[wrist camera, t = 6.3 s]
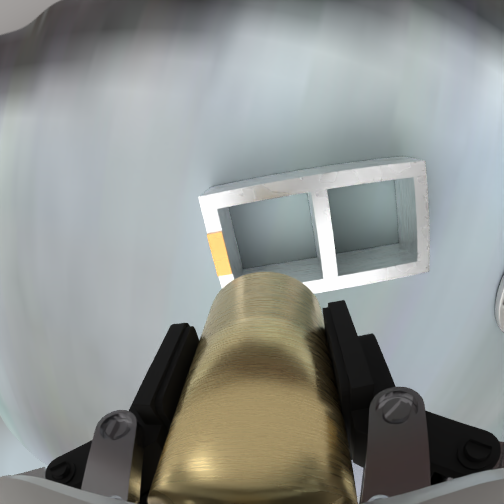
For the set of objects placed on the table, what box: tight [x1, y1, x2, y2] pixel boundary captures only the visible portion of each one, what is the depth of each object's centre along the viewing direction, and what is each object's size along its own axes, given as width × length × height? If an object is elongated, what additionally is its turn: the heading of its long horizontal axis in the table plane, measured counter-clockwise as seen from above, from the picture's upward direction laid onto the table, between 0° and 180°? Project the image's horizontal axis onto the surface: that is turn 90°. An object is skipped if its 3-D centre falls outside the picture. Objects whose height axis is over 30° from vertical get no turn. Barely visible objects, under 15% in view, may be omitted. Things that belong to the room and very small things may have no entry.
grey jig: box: [198, 156, 430, 294], centre depth 22 cm, size 15×8×4 cm, turn 102°
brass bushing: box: [147, 272, 358, 504], centre depth 8 cm, size 4×4×8 cm
